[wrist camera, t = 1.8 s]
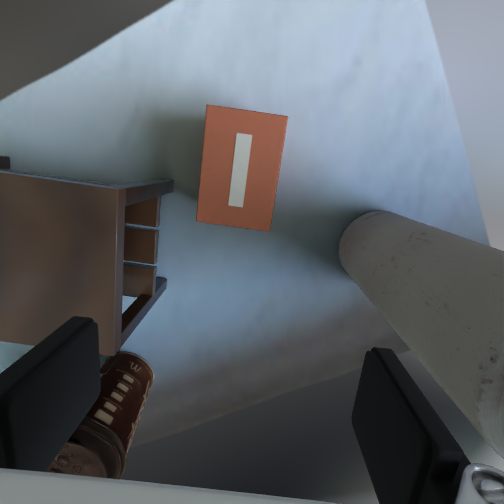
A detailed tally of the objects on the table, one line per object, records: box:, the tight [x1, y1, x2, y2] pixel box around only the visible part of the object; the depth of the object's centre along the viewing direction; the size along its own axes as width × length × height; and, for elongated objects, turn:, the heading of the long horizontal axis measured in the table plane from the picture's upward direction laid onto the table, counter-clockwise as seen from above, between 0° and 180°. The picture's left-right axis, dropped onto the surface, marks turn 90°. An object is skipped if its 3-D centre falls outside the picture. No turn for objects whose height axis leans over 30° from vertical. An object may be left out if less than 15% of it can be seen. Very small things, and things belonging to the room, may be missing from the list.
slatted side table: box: [0, 156, 174, 356], centre depth 27 cm, size 18×12×13 cm, turn 82°
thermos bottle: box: [339, 211, 504, 458], centre depth 20 cm, size 8×8×28 cm
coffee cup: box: [46, 352, 154, 479], centre depth 32 cm, size 9×8×13 cm
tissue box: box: [196, 105, 288, 232], centre depth 28 cm, size 6×9×7 cm
